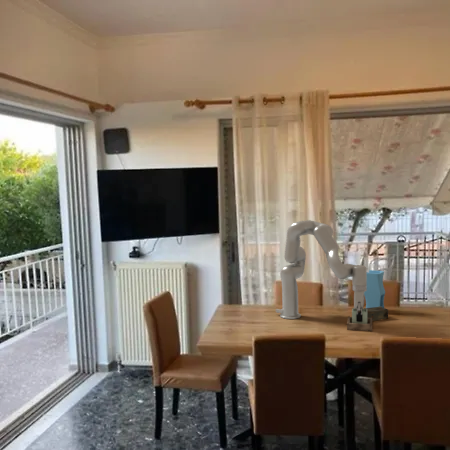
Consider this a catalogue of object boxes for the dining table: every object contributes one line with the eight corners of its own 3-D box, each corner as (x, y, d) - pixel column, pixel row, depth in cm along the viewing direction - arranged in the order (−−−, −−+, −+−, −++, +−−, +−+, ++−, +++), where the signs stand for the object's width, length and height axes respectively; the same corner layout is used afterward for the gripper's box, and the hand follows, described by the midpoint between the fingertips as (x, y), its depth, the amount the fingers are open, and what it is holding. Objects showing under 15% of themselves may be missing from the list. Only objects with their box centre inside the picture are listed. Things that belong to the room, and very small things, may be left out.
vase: (369, 308, 290) (369, 269, 288) (385, 310, 284) (385, 271, 282) (364, 312, 282) (364, 272, 280) (380, 314, 276) (380, 273, 274)
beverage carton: (389, 319, 266) (389, 308, 265) (362, 323, 259) (362, 312, 258) (379, 315, 273) (379, 305, 273) (353, 320, 266) (353, 309, 266)
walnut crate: (347, 329, 247) (347, 323, 246) (348, 322, 260) (348, 316, 260) (372, 331, 243) (372, 324, 242) (372, 324, 256) (372, 318, 256)
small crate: (351, 323, 249) (351, 311, 249) (352, 320, 255) (352, 308, 255) (367, 324, 247) (367, 311, 246) (367, 321, 253) (367, 308, 252)
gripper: (353, 284, 259) (353, 315, 260) (351, 290, 243) (351, 323, 244) (366, 285, 257) (366, 316, 258) (366, 291, 240) (366, 324, 242)
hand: (359, 319), depth 251 cm, fingers closed on small crate, 6 cm apart
